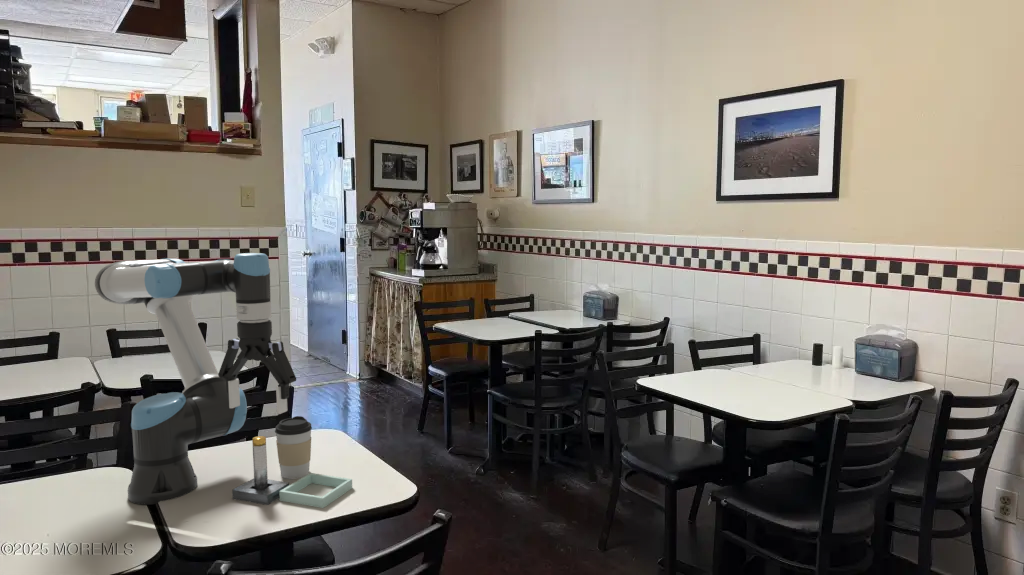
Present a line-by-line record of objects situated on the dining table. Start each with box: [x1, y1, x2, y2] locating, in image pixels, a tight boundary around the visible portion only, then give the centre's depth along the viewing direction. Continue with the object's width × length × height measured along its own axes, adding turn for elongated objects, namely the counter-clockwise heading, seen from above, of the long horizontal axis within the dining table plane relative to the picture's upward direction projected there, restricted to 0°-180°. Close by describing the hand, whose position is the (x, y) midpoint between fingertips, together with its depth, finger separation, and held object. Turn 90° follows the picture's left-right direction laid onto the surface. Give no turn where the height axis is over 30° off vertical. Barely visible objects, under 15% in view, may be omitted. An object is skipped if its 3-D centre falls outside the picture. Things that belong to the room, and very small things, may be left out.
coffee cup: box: [274, 415, 313, 480], centre depth 176 cm, size 9×9×15 cm
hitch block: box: [231, 477, 291, 506], centre depth 163 cm, size 10×8×3 cm
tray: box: [279, 472, 353, 509], centre depth 164 cm, size 12×12×3 cm
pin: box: [251, 435, 269, 490], centre depth 162 cm, size 3×3×14 cm
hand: (258, 409), depth 161 cm, fingers open, 13 cm apart
